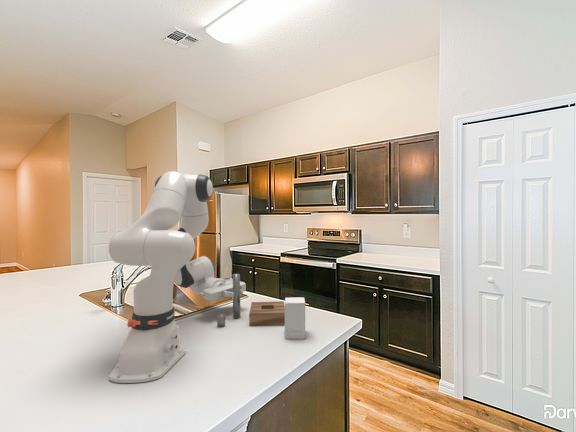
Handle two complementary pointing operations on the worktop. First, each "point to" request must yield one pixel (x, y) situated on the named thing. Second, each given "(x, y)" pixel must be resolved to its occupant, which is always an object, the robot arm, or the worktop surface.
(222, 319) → the short pin
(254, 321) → the collar block
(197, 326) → the worktop surface
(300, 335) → the supplement box
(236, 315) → the long pin
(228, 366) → the worktop surface
